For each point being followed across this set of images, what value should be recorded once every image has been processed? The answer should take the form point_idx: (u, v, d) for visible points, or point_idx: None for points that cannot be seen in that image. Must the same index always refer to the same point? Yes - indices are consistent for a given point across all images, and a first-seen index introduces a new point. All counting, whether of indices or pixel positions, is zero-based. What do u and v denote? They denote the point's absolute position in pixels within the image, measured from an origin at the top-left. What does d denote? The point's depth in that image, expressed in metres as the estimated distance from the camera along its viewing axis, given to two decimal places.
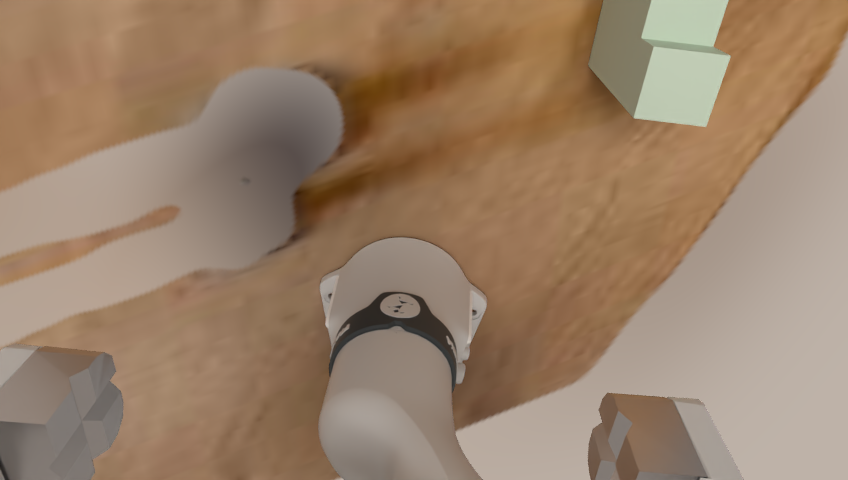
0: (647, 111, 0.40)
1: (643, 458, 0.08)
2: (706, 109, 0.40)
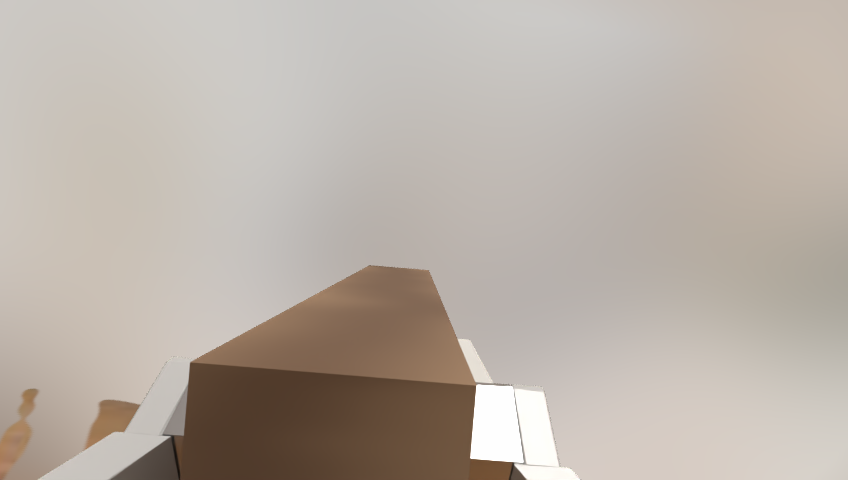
0: None
1: None
2: None
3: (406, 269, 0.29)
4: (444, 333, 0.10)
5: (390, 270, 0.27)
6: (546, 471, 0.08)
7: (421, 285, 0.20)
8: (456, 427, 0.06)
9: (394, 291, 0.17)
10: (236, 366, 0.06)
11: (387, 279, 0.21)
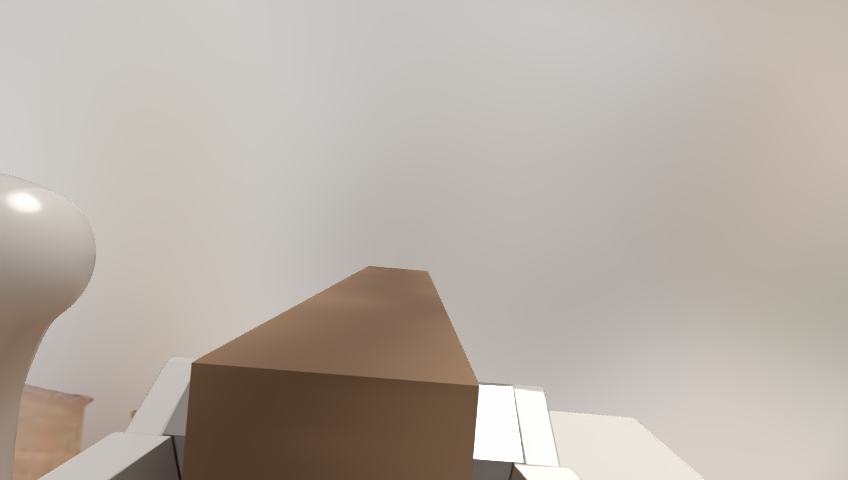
0: None
1: None
2: None
3: (405, 270, 0.29)
4: (445, 333, 0.10)
5: (389, 271, 0.27)
6: (546, 471, 0.08)
7: (421, 286, 0.20)
8: (459, 427, 0.06)
9: (394, 292, 0.16)
10: (238, 366, 0.06)
11: (386, 280, 0.21)
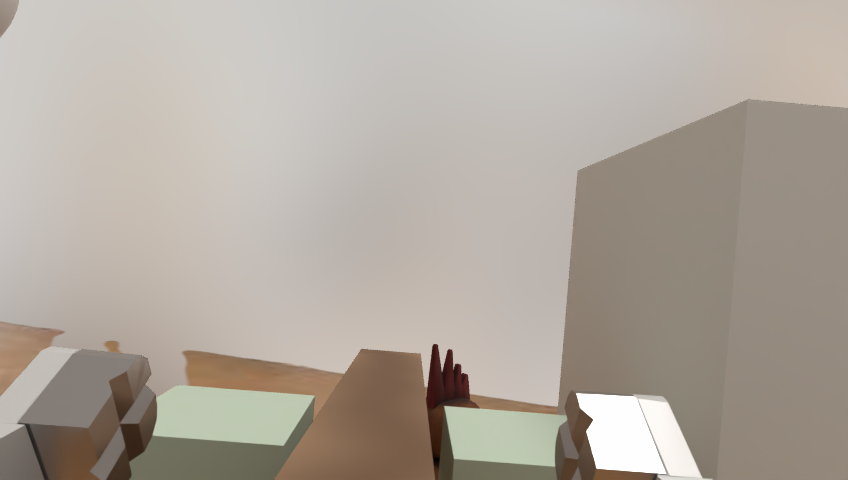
0: (185, 392, 0.20)
1: (602, 455, 0.08)
2: None
3: (398, 354, 0.29)
4: None
5: (381, 359, 0.27)
6: None
7: (411, 395, 0.20)
8: None
9: (383, 416, 0.16)
10: None
11: (377, 384, 0.21)
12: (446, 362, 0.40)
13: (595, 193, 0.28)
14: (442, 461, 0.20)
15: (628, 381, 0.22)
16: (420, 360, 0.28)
